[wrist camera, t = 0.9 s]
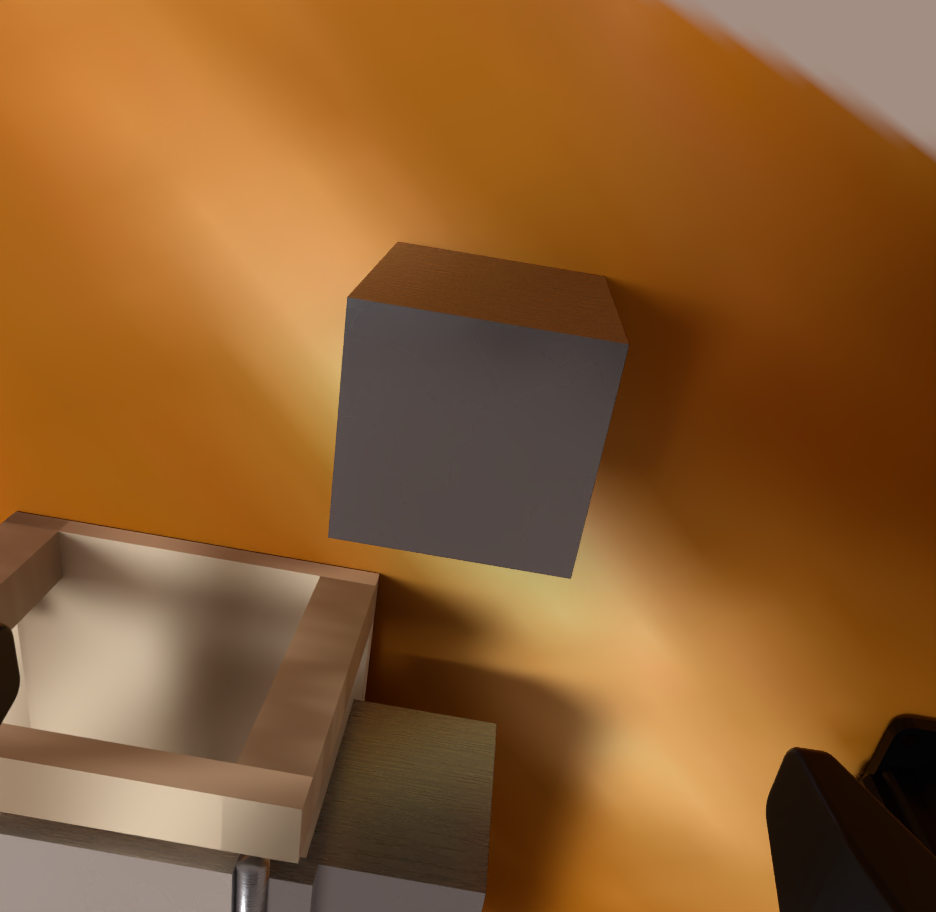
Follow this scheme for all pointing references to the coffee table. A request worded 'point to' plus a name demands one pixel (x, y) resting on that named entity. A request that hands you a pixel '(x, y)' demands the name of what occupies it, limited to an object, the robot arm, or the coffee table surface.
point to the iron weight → (474, 408)
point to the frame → (177, 684)
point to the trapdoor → (332, 846)
